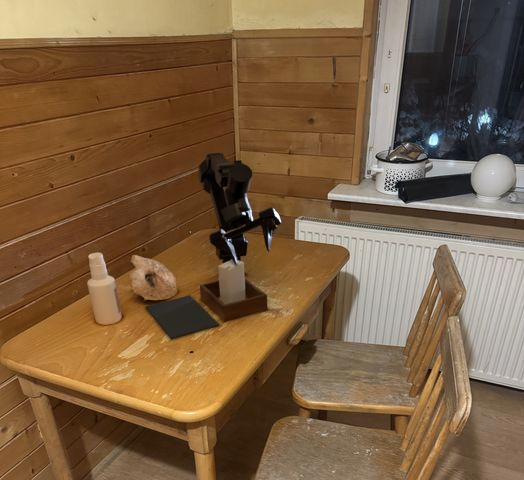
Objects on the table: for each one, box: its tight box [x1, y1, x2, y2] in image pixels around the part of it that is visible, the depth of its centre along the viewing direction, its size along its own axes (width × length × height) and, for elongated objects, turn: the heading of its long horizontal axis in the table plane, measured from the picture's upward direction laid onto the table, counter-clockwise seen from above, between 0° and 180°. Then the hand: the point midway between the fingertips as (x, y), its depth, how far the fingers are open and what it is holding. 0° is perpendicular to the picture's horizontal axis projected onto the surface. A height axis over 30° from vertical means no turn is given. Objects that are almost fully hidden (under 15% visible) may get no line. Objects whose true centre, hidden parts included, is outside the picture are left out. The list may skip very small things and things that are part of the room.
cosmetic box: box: [217, 260, 247, 304], centre depth 137 cm, size 6×4×12 cm
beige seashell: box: [128, 254, 178, 303], centre depth 148 cm, size 18×14×8 cm
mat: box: [145, 295, 220, 340], centre depth 135 cm, size 20×13×1 cm, turn 29°
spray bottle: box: [86, 252, 123, 326], centre depth 130 cm, size 7×7×18 cm
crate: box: [199, 278, 269, 323], centre depth 139 cm, size 16×13×4 cm
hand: (252, 257), depth 130 cm, fingers open, 9 cm apart
